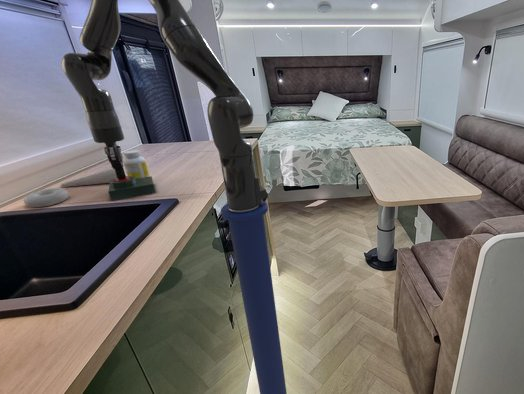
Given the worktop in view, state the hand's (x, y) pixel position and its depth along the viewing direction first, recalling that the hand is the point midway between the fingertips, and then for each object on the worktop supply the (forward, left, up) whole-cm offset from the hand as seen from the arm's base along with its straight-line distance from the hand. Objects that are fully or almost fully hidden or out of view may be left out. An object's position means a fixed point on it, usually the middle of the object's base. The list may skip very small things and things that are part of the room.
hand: (122, 178), depth 96 cm
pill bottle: (-4, -11, -5) cm, 13 cm away
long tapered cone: (+10, -17, -5) cm, 20 cm away
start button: (0, 0, -2) cm, 2 cm away
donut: (+20, -5, -5) cm, 21 cm away
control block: (-2, 0, -5) cm, 6 cm away
